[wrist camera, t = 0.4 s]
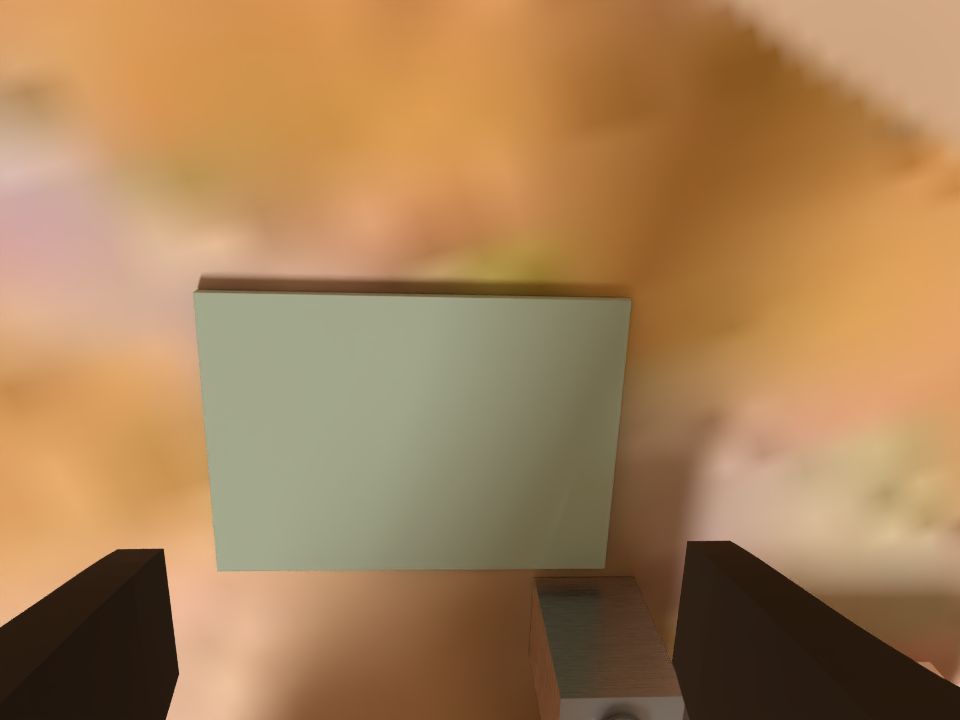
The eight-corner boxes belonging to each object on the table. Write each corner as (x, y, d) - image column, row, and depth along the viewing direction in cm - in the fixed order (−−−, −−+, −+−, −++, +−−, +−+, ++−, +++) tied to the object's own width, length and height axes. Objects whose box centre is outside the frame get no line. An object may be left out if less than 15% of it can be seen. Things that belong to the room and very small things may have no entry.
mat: (602, 562, 22) (604, 568, 22) (220, 565, 22) (217, 571, 21) (628, 297, 20) (631, 300, 19) (196, 289, 19) (193, 292, 19)
